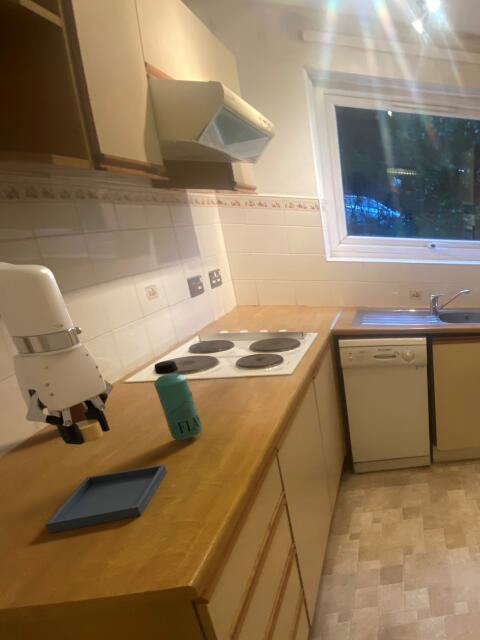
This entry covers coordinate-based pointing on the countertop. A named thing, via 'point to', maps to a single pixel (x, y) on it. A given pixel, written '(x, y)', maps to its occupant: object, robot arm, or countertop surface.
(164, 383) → the beverage bottle
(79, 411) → the sauce bottle
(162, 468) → the tray
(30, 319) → the robot arm
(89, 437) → the cap
